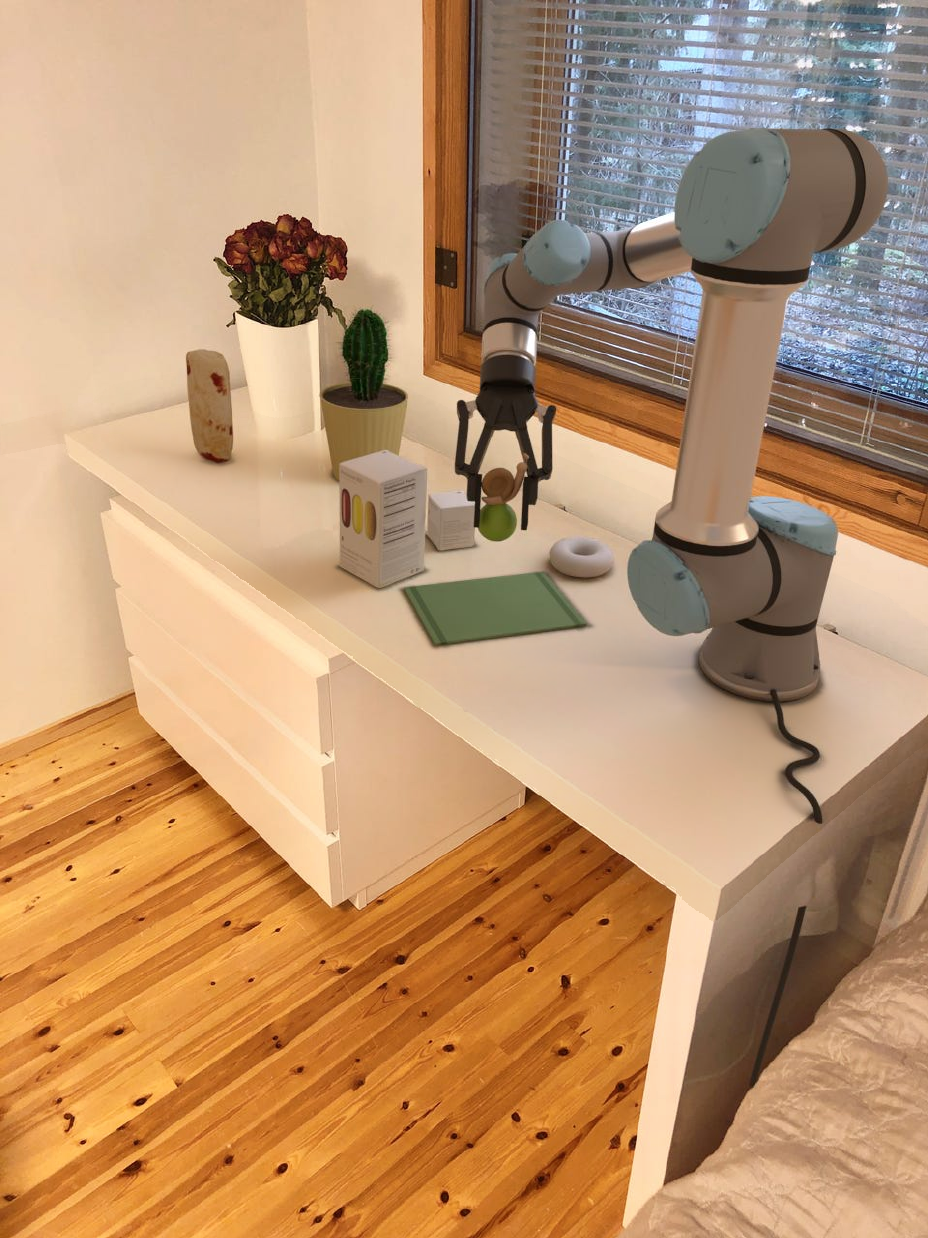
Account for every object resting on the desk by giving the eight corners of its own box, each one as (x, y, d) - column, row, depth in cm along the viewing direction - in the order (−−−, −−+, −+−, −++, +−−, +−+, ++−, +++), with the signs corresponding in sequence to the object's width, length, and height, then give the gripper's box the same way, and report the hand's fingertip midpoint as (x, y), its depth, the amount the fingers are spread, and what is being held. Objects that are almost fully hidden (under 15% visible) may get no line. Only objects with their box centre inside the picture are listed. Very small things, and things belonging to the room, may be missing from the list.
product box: (426, 535, 168) (427, 493, 164) (461, 530, 170) (463, 489, 166) (438, 551, 163) (440, 508, 159) (474, 546, 165) (477, 504, 161)
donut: (544, 577, 157) (610, 585, 156) (545, 557, 156) (612, 564, 154) (552, 549, 166) (615, 556, 164) (554, 529, 164) (617, 536, 163)
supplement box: (337, 567, 157) (336, 461, 149) (383, 549, 163) (384, 447, 154) (379, 590, 151) (380, 482, 143) (426, 571, 157) (429, 466, 149)
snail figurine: (528, 544, 141) (536, 461, 135) (484, 550, 138) (491, 466, 132) (512, 528, 145) (519, 446, 139) (469, 533, 143) (474, 450, 137)
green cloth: (586, 625, 145) (586, 623, 145) (435, 645, 139) (435, 643, 139) (543, 573, 158) (543, 571, 158) (403, 589, 152) (403, 587, 152)
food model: (184, 455, 193) (173, 348, 183) (212, 446, 197) (204, 341, 187) (218, 470, 188) (209, 360, 177) (247, 460, 192) (240, 352, 182)
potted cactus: (328, 455, 196) (324, 292, 181) (410, 460, 196) (413, 297, 181) (314, 488, 182) (309, 314, 167) (402, 493, 182) (405, 320, 167)
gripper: (573, 382, 146) (568, 538, 140) (440, 374, 146) (430, 531, 140) (579, 355, 139) (574, 519, 133) (440, 347, 139) (429, 511, 133)
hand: (500, 525), depth 137 cm, fingers closed on snail figurine, 6 cm apart
